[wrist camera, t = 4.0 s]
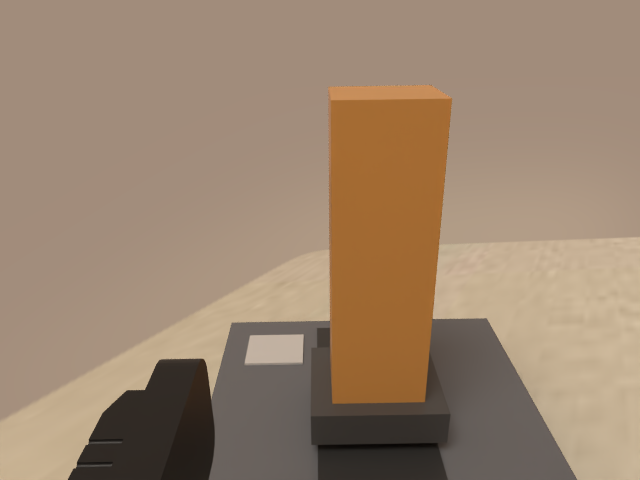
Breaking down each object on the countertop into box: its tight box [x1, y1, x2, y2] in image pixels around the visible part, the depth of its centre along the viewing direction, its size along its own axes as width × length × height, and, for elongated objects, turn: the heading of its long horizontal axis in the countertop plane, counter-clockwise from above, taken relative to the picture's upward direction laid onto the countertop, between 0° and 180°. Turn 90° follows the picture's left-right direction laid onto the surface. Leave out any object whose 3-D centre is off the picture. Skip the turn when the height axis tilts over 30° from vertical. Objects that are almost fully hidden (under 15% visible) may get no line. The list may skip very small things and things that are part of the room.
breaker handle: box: [311, 85, 452, 445], centre depth 16 cm, size 4×4×11 cm
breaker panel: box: [209, 318, 577, 480], centre depth 19 cm, size 12×12×3 cm
